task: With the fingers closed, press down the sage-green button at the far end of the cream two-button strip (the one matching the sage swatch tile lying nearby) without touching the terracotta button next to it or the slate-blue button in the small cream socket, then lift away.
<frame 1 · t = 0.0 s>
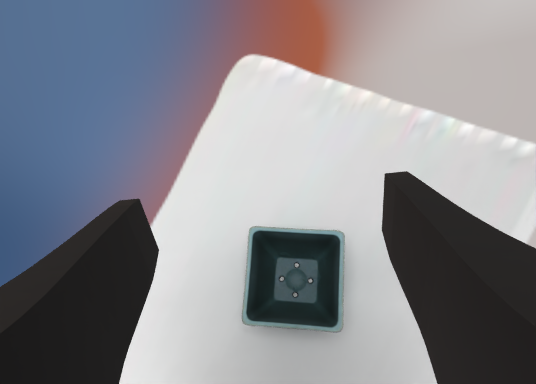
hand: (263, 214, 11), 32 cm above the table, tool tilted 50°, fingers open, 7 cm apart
flower pot: (296, 280, 42), on the table
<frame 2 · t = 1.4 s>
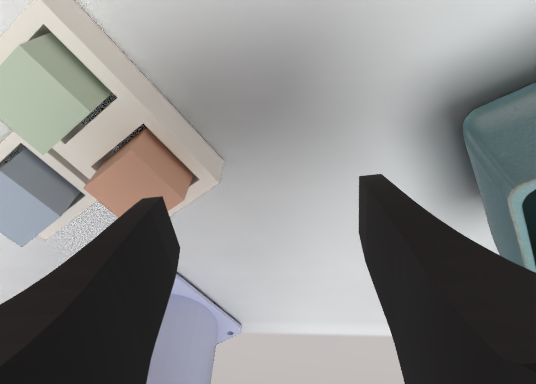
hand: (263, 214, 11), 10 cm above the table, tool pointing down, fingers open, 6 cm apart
button strip: (119, 115, 21), on the table
sage button: (47, 94, 17), point 3 cm above the table, slide at 0.0 cm
side socket: (54, 167, 22), on the table
slate button: (25, 196, 20), point 3 cm above the table, slide at 0.0 cm
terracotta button: (141, 180, 19), point 3 cm above the table, slide at 0.0 cm
flower pot: (517, 128, 21), on the table
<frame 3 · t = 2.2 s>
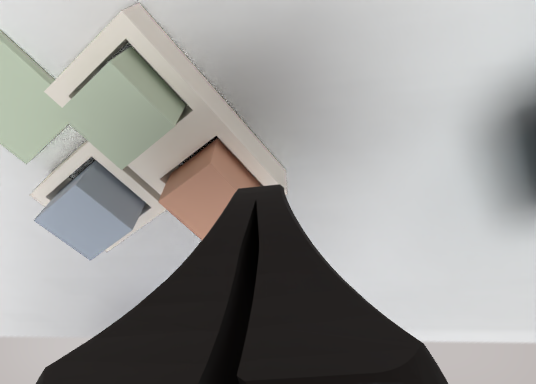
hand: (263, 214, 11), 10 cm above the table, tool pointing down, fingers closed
button strip: (184, 126, 20), on the table
sage button: (126, 108, 17), point 3 cm above the table, slide at 0.0 cm
side socket: (114, 179, 22), on the table
slate button: (93, 209, 20), point 3 cm above the table, slide at 0.0 cm
sage swatch: (16, 100, 20), on the table
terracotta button: (212, 192, 19), point 3 cm above the table, slide at 0.0 cm
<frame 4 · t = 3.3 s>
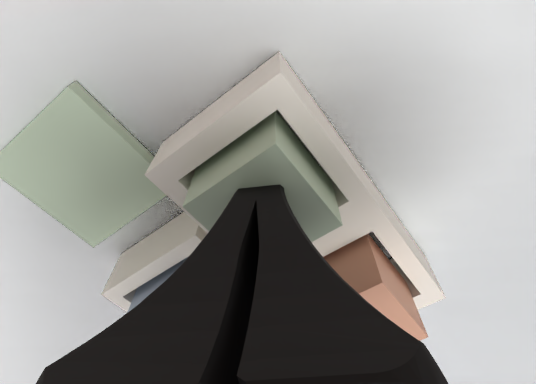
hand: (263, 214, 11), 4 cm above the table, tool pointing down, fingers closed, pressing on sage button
button strip: (306, 204, 15), on the table
sage button: (264, 192, 12), point 2 cm above the table, slide at 0.7 cm, touching gripper
side socket: (201, 262, 17), on the table
slate button: (189, 317, 15), point 3 cm above the table, slide at 0.0 cm
sage swatch: (88, 170, 15), on the table
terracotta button: (354, 301, 14), point 3 cm above the table, slide at 0.0 cm
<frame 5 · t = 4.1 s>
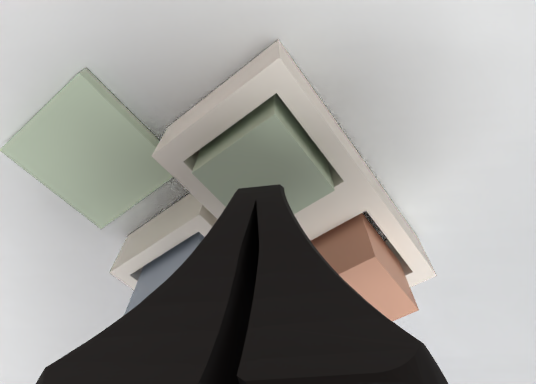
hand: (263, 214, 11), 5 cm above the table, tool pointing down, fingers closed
button strip: (304, 187, 16), on the table
sage button: (264, 162, 14), point 2 cm above the table, slide at 1.3 cm
side socket: (204, 244, 18), on the table
slate button: (193, 294, 16), point 3 cm above the table, slide at 0.0 cm
sage swatch: (97, 154, 15), on the table
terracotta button: (349, 277, 15), point 3 cm above the table, slide at 0.0 cm
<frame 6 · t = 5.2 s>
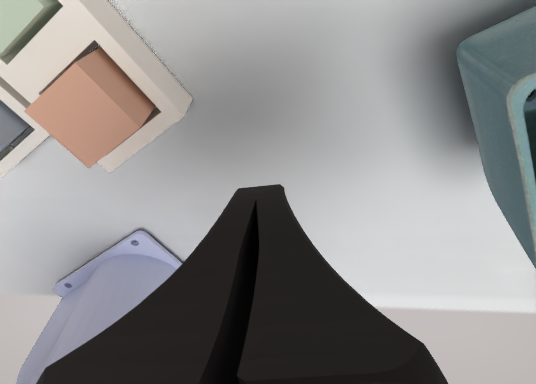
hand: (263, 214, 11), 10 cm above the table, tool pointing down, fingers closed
button strip: (74, 40, 18), on the table
side socket: (4, 103, 20), on the table
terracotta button: (94, 108, 17), point 3 cm above the table, slide at 0.0 cm
flower pot: (518, 65, 19), on the table
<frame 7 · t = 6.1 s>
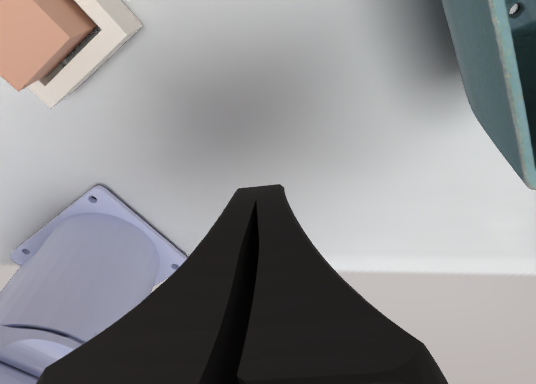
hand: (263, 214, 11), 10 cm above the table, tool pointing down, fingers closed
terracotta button: (23, 22, 15), point 3 cm above the table, slide at 0.0 cm
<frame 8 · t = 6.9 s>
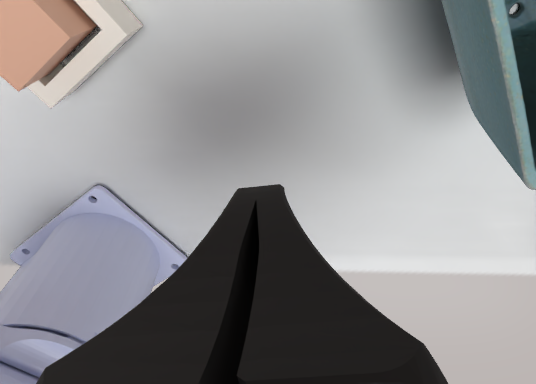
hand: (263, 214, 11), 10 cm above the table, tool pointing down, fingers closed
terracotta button: (23, 22, 15), point 3 cm above the table, slide at 0.0 cm
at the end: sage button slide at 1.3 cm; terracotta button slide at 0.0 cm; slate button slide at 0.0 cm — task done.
